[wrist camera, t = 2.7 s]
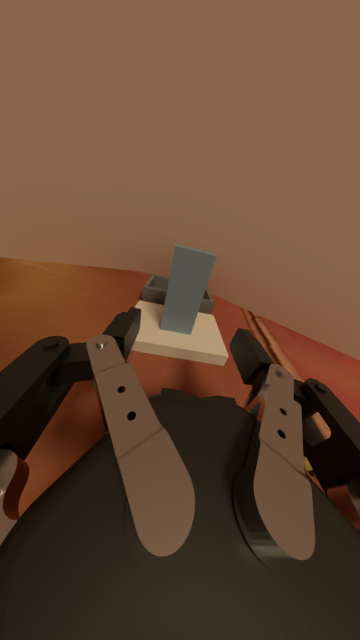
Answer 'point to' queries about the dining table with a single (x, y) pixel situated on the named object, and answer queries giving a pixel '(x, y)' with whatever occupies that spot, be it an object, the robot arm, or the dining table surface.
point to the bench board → (179, 337)
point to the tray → (158, 288)
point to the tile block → (186, 288)
